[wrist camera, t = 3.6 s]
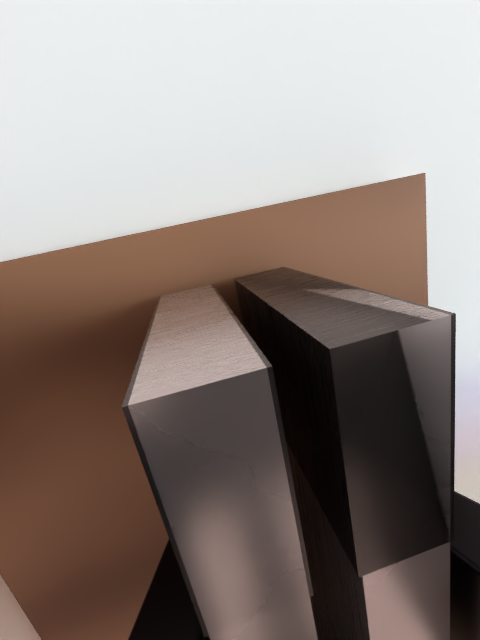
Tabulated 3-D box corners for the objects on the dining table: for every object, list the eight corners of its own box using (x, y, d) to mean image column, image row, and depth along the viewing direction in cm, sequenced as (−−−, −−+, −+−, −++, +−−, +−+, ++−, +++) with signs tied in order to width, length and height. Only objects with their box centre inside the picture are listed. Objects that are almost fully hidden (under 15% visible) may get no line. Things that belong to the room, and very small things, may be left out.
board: (416, 636, 16) (434, 666, 14) (145, 752, 14) (142, 798, 13) (394, 180, 9) (425, 172, 8) (-120, 289, 7) (-175, 299, 6)
